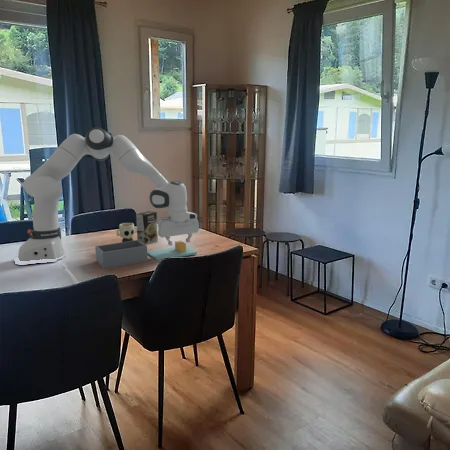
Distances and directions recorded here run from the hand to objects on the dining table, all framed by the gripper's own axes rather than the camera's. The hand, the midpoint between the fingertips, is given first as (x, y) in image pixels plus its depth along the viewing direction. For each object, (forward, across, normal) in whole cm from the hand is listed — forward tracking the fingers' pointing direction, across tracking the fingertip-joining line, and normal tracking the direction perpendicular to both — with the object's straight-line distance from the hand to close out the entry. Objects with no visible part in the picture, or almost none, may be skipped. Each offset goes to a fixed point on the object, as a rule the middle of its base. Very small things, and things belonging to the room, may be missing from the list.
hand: (179, 243), depth 214 cm
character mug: (+5, -20, +19) cm, 28 cm away
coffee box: (+5, -6, +26) cm, 27 cm away
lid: (+5, -4, -1) cm, 7 cm away
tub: (+5, -28, 0) cm, 29 cm away
